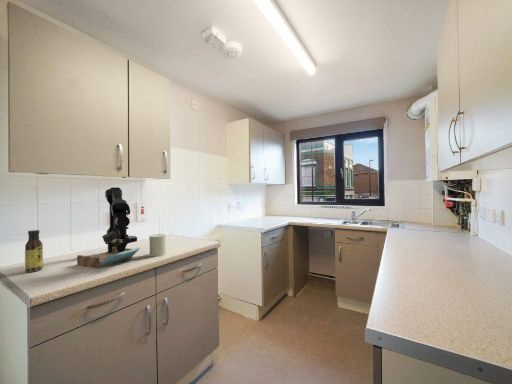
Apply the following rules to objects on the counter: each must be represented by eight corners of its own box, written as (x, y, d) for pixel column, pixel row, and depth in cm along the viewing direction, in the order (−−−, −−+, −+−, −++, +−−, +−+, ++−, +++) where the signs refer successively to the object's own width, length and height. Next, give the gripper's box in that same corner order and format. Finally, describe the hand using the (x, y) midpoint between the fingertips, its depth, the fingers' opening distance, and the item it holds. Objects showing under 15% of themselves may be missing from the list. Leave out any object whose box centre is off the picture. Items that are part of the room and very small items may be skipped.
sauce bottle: (41, 271, 112) (40, 230, 112) (23, 273, 108) (22, 231, 108) (44, 267, 117) (43, 228, 117) (27, 270, 114) (26, 230, 114)
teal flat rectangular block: (100, 263, 115) (108, 255, 113) (130, 254, 131) (138, 247, 129) (101, 266, 115) (110, 258, 112) (132, 257, 131) (140, 249, 128)
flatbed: (77, 265, 120) (77, 255, 120) (113, 255, 139) (113, 246, 139) (97, 268, 114) (97, 258, 114) (132, 257, 133) (132, 248, 133)
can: (168, 252, 142) (168, 233, 142) (161, 256, 133) (160, 236, 133) (154, 252, 143) (154, 233, 143) (146, 256, 134) (145, 236, 134)
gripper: (93, 227, 118) (93, 257, 118) (117, 228, 111) (118, 260, 111) (114, 224, 128) (114, 252, 128) (137, 225, 121) (138, 255, 121)
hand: (120, 254), depth 122 cm, fingers closed, pressing on teal flat rectangular block
